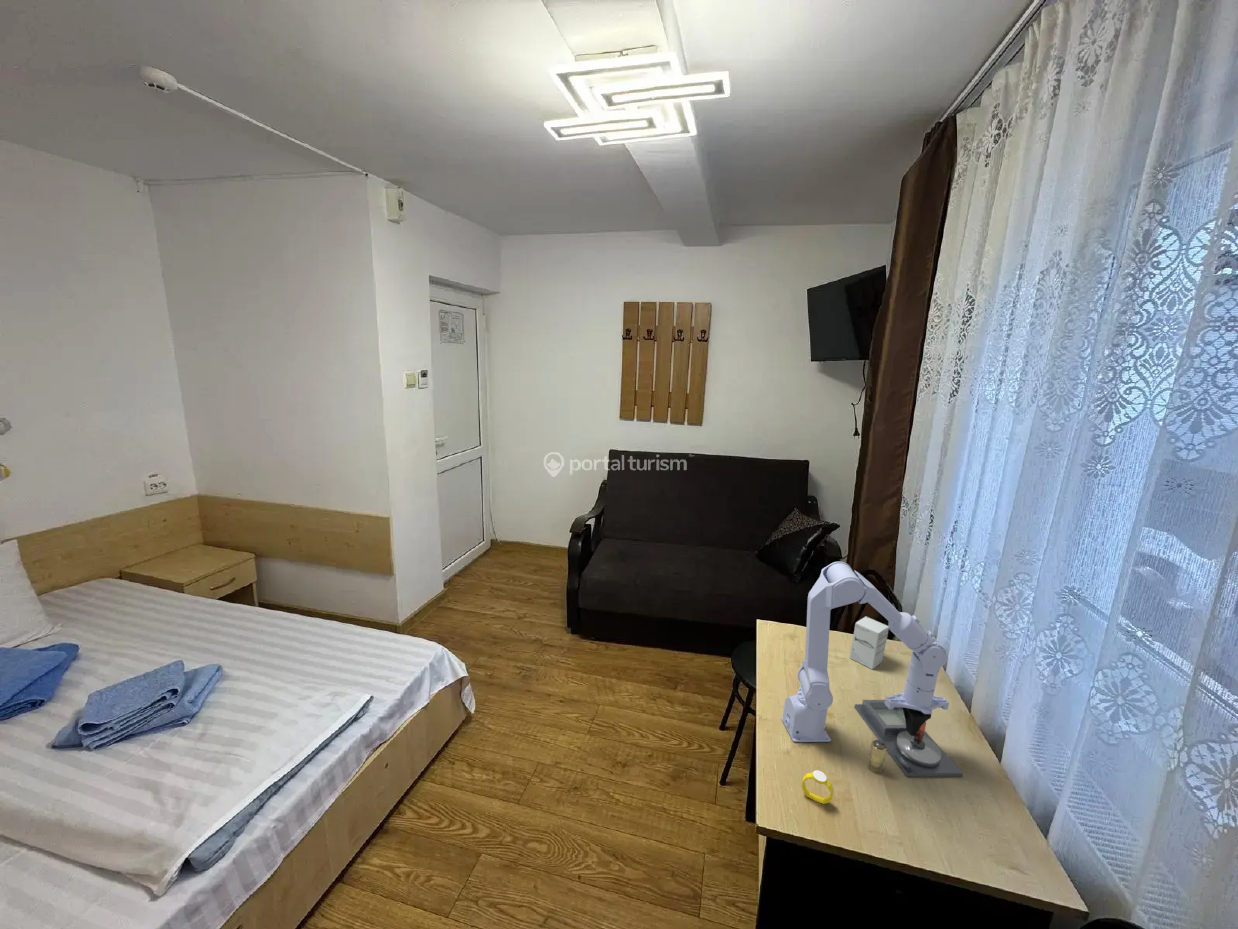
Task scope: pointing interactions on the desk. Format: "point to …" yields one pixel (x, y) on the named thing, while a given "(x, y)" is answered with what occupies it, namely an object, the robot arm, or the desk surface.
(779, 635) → the desk surface
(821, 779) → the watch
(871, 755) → the cylinder
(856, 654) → the supplement box
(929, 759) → the crank
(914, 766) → the crank bench
